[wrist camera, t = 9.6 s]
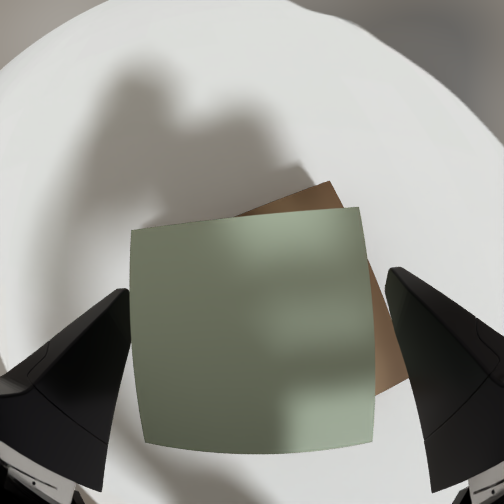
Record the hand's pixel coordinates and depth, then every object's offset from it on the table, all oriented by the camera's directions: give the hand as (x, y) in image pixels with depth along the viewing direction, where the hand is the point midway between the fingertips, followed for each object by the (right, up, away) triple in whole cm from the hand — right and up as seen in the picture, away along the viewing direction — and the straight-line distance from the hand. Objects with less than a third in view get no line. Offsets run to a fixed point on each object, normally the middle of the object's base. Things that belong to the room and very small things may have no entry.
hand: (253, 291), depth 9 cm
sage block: (+1, -3, +7) cm, 8 cm away
